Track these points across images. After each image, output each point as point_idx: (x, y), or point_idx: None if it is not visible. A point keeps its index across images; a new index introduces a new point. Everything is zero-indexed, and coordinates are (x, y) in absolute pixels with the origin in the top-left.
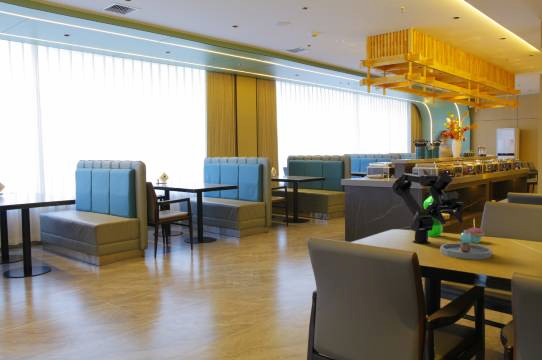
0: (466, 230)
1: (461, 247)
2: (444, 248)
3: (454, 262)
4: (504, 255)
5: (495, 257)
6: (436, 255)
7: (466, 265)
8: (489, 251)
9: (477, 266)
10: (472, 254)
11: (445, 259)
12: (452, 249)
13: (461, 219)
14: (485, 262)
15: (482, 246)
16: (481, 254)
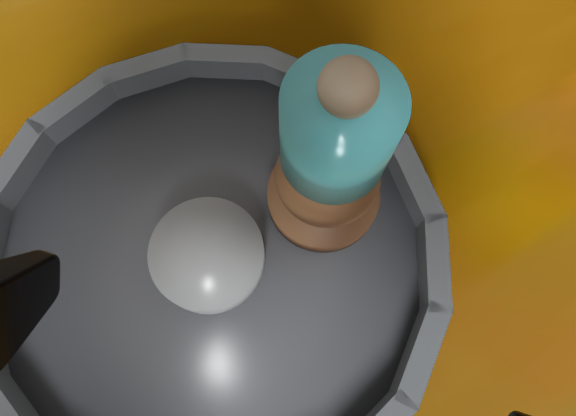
0: (360, 59)
1: (378, 188)
2: (405, 382)
3: (569, 152)
4: (34, 45)
5: None
6: (507, 394)
7: (560, 58)
8: (173, 55)
9: (514, 6)
10: None
11: (556, 249)
12: (232, 392)
13: (1, 275)
14: (365, 26)
15: (2, 190)
16: None
